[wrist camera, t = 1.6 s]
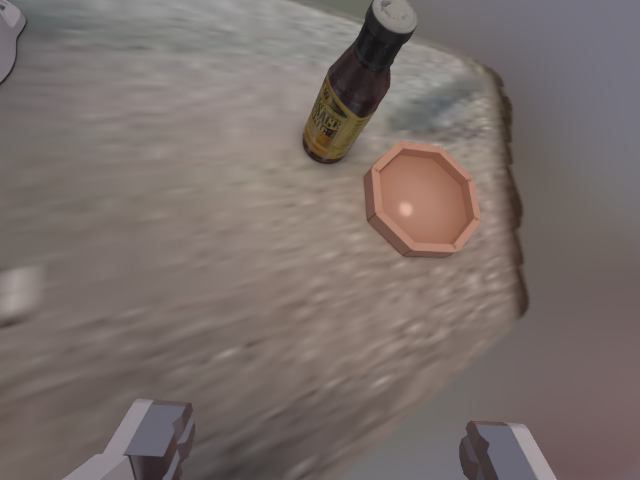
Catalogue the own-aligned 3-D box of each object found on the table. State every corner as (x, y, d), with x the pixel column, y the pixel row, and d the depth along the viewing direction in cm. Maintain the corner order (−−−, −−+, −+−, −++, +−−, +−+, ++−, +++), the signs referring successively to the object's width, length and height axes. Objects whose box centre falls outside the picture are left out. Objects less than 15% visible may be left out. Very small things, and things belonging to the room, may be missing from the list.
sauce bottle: (294, 128, 45) (342, -26, 26) (337, 121, 47) (408, -26, 29) (311, 172, 43) (374, 42, 25) (354, 163, 46) (441, 37, 27)
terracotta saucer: (342, 196, 44) (349, 187, 41) (408, 135, 49) (417, 124, 47) (427, 280, 43) (438, 276, 41) (484, 208, 49) (496, 201, 47)
